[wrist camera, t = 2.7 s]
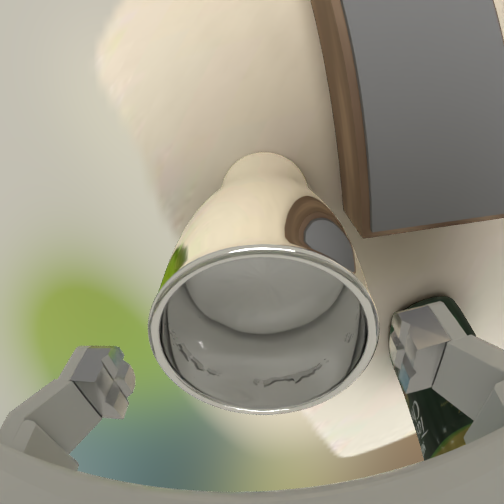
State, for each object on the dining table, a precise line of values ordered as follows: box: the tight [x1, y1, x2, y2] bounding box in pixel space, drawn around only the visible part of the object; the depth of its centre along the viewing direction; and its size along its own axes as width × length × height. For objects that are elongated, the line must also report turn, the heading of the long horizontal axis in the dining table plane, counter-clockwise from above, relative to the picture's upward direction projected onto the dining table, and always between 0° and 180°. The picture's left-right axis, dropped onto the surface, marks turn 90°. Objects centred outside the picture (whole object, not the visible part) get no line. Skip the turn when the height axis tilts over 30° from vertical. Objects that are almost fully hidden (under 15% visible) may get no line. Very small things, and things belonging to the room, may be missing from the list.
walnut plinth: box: [311, 0, 504, 238], centre depth 15 cm, size 12×16×5 cm
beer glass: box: [148, 152, 379, 415], centre depth 15 cm, size 7×7×15 cm
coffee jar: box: [389, 296, 476, 461], centre depth 19 cm, size 10×8×19 cm
